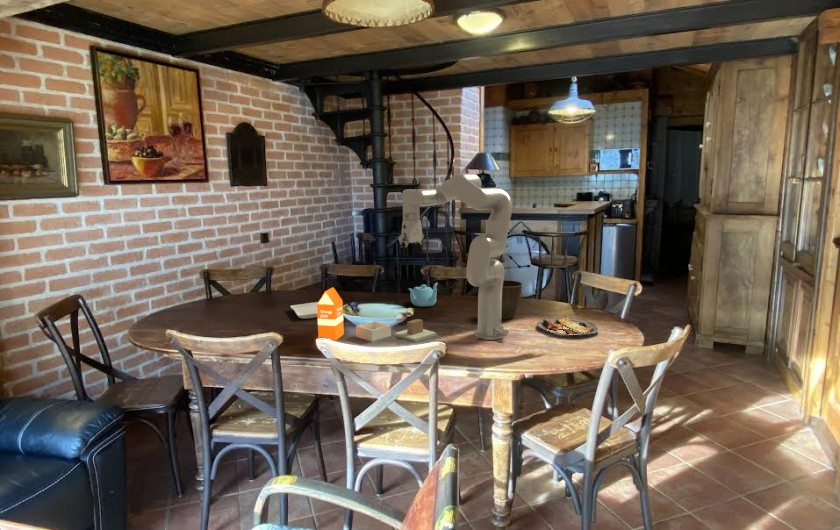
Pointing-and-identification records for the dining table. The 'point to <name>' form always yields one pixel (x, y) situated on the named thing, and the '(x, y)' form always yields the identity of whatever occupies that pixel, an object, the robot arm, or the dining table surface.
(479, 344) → the dining table surface
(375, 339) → the open tan box
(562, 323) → the food plate
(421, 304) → the teapot
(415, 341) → the mat
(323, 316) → the orange juice
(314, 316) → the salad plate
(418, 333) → the lid
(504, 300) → the plant pot
